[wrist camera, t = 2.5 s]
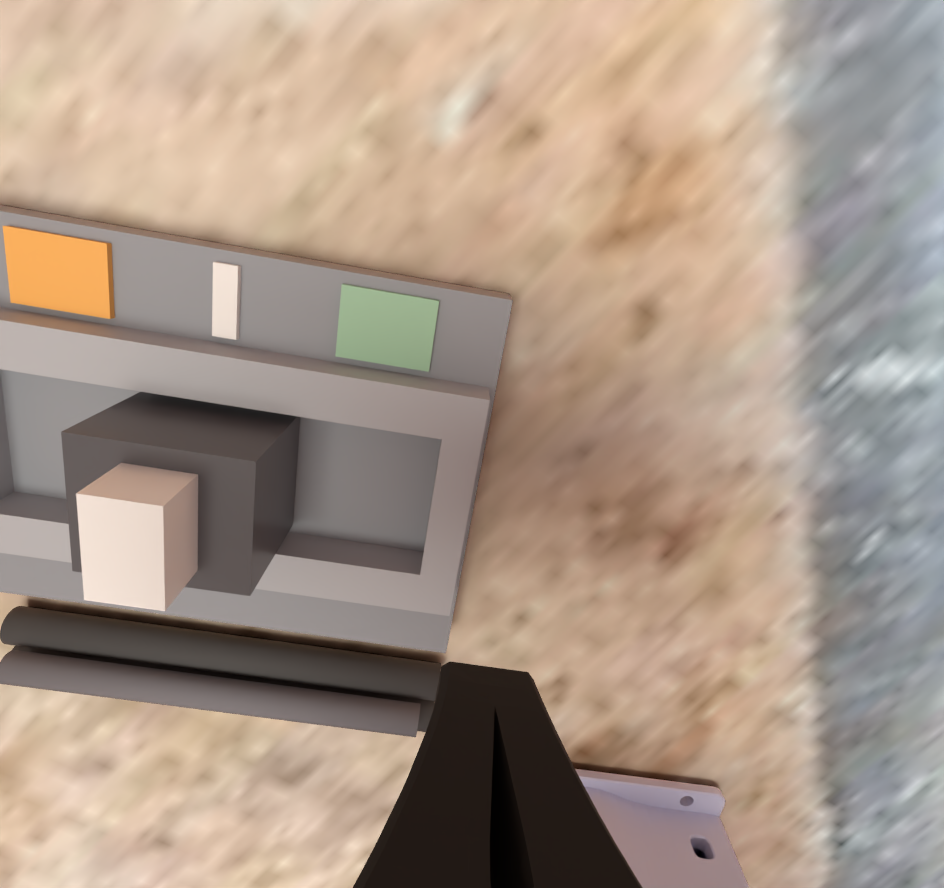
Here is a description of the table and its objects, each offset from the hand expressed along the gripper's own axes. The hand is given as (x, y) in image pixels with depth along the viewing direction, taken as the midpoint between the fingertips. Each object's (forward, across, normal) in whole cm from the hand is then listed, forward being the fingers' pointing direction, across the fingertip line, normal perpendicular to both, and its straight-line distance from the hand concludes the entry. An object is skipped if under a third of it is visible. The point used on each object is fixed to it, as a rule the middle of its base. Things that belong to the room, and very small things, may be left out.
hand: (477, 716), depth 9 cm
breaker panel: (+9, +7, 0) cm, 12 cm away
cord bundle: (+9, +7, +8) cm, 14 cm away
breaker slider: (+8, +7, 0) cm, 10 cm away
